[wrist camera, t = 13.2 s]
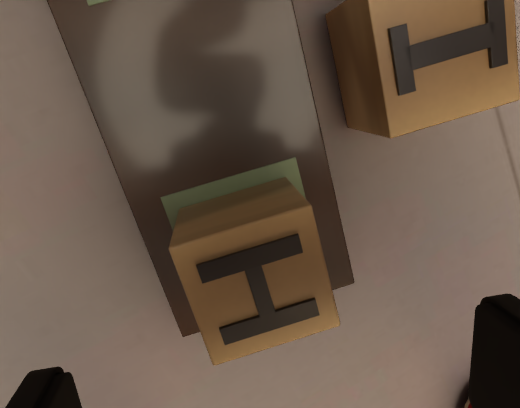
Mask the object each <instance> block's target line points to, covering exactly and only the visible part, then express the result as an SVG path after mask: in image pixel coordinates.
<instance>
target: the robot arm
mask: <svg viewBox="0 0 520 408" xmlns="http://www.w3.org/2000/svg"><path fill="white" fill-rule="evenodd" d="M468 396H469V401H470V404H471V406H472V408H520V299H518V298H517V297H515V296H513V295H511V294H502V295H496V296H489V297H485V298H483V299H482V300H481V303H480V305H478V306H477V307H476V310H475V319H474V331H473V344H472V356H471V368H470V380H469V392H468ZM6 408H82V406H81V402H80V399H79V396H78V392H77V389H76V386H75V383H74V379H73V376H72V374H71V373H70V372H66V373H64V371H63V369H62V368H61V367H53V368H46V369H40V370H34V371H31V372H29V373H28V374H27V375H26V377H25V378H24V380H23V381H22V383H21V384H20V386H19V387H18V389H17V391H16V392H15V394H14V395H13V397H12V398H11V400H10V401H9V403H8V404H7V406H6Z"/></svg>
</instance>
